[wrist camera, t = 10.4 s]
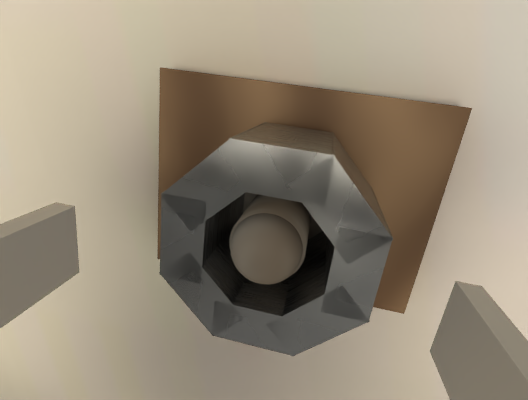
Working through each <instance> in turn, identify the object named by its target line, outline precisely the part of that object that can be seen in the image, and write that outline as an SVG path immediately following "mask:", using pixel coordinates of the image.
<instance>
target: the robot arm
mask: <svg viewBox="0 0 528 400" xmlns="http://www.w3.org/2000/svg"><path fill="white" fill-rule="evenodd" d="M77 273H79V260H78V246H77V231H76V216H75V206H71V205H66V204H61V203H54V204H51V205H48V206H46V207H43V208H41V209H38V210H36V211H33V212H31V213H28V214H25V215H23V216H20V217H18V218H15V219H13V220H10V221H7V222H5V223H2V224H0V328H2V327H3V326H4V325H6V324H7V323H9V322H10V321H11V320H13V319H14V318H16V317H17V316H18V315H20V314H21V313H23V312H24V311H25V310H27V309H28V308H30V307H31V306H32V305H34V304H35V303H37V302H38V301H39V300H41V299H42V298H44V297H45V296H47V295H48V294H49V293H51V292H52V291H54V290H55V289H56V288H58V287H59V286H61V285H62V284H63V283H65V282H66V281H68V280H69V279H70V278H72V277H73V276H75V275H76V274H77ZM430 352H431V355H432V357H433V360H434V362H435V364H436V367H437V369H438V372H439V374H440V376H441V379H442V381H443V384H444V386H445V388H446V391H447V393H448V396H449V398H450V400H528V341H527V339H526V338H525V337H524V336H523V335H522V333H521V332H520V331H519V330H518V329H517V328H516V326H515V325H514V324H513V323H512V322H511V320H510V319H509V318H508V317H507V316H506V314H505V313H504V312H503V311H502V310H501V308H500V307H499V306H498V305H497V304H496V302H495V301H494V300H493V299H492V298H491V296H490V295H489V294H488V293H487V292H486V290H485V289H484V288H483V287H482V286H479V285H473V284H468V283H463V282H458V281H456V282H455V284H454V287H453V290H452V292H451V295H450V298H449V301H448V303H447V306H446V309H445V311H444V314H443V317H442V319H441V322H440V325H439V328H438V330H437V333H436V336H435V338H434V341H433V344H432V347H431V349H430Z"/></svg>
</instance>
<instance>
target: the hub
mask: <svg viewBox="0 0 528 400" xmlns="http://www.w3.org/2000/svg"><path fill="white" fill-rule="evenodd" d="M245 192H248V193H253V194H258V195H264V196H269V197H275V198H280V199H285V200H291V201H296V202H302V203H303V205H304V206H305V207H306V209H307V210H308V211H309V213H310V214H311V215H312V217H313V218H314V220H315V221H316V222H317V224H318V225H319V226H320V228H321V229H322V230H323V231H321V232H320V233H318V234H316V235H315V236H313V237H311V238H310V239H308V241H307V247H306V253H305V258H304V261H303V263H302V265H301V266H300V268H299V269H298V270H297V271H296V272H295V273H294V274H292V275H291V276H289V277H288V278H287V279H285V280H283V281H281V282H278V283H275V284H268V285H267V284H258V283H255V282H252V281H250V280H248V279H247V278H245V277H244V276H243V275H242V274H241V273H240V272H239V271H238V270H237V268H236V267H235V265H234V263H233V260H232V257H231V251H230V245H229V239H230V234H231V231H232V229H233V227H234V225H235V224H236V223H237V221H238V220H239V218H240V217H241V216H242V214H243V207H244V198H245ZM392 240H393V236H392V234H391V231H390V229H389V227H388V224H387V222H386V220H385V217H384V215H383V213H382V210H381V208H380V206H379V203H378V201H377V198H376V196H375V194H374V191H373V189H372V187H371V186H370V185H369V183H368V182H367V181H366V179H365V178H364V176H363V175H362V173H361V172H360V171H359V169H358V168H357V166H356V165H355V163H354V162H353V161H352V159H351V158H350V156H349V155H348V153H347V152H346V151H345V149H344V148H343V146H342V145H341V143H340V142H339V140H338V139H337V138H336V136H335V135H334V133H333V132H327V131H320V130H313V129H307V128H300V127H293V126H287V125H280V124H274V123H267V122H264V123H262V124H260V125H257V126H255V127H253V128H251V129H248V130H246V131H244V132H242V133H240V134H237V135H235V136H233V137H231V138H229V140H228V141H226V142H225V143H224V144H223V145H222V146H220V147H219V148H218V149H217V150H215V151H214V152H213V153H212V154H210V155H209V156H208V157H207V158H205V159H204V160H203V161H202V162H200V163H199V164H198V165H197V166H195V167H194V168H193V169H192V170H190V171H189V172H188V173H187V174H186V175H184V176H183V177H182V178H181V179H179V180H178V181H177V182H176V183H174V184H173V185H172V186H171V187H169V188H168V189H167V190H165V191H164V192H162V193H161V241H160V272H159V273H160V275H162V277H163V278H164V279H165V280H166V281H167V282H168V284H169V285H170V286H171V287H172V288H173V289H174V291H175V292H176V293H177V294H178V295H179V297H180V298H181V299H182V300H183V301H184V302H185V304H186V305H187V306H188V307H189V308H190V309H191V311H192V312H193V313H194V314H195V315H196V316H197V318H198V319H199V320H200V321H201V322H202V323H203V325H204V326H205V327H206V328H207V329H208V331H209V332H210V333H211V334H212V335H213V336H217V337H221V338H225V339H229V340H233V341H237V342H241V343H244V344H248V345H252V346H256V347H260V348H264V349H268V350H272V351H276V352H280V353H284V354H288V355H292V356H295V355H296V354H299V353H301V352H303V351H305V350H307V349H310V348H312V347H314V346H316V345H318V344H321V343H323V342H325V341H327V340H329V339H332V338H334V337H336V336H338V335H340V334H343V333H345V332H347V331H349V330H351V329H354V328H356V327H358V326H360V325H362V324H365V323H368V322H369V318H370V315H371V311H372V308H373V304H374V301H375V298H376V294H377V291H378V287H379V284H380V280H381V277H382V273H383V270H384V267H385V263H386V260H387V256H388V253H389V249H390V246H391V242H392Z"/></svg>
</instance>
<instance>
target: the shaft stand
mask: <svg viewBox="0 0 528 400" xmlns="http://www.w3.org/2000/svg"><path fill="white" fill-rule="evenodd" d="M471 110H472V108H467V107H459V106H451V105H444V104H436V103H428V102H421V101H413V100H405V99H398V98H390V97H382V96H375V95H367V94H359V93H351V92H344V91H336V90H328V89H321V88H313V87H305V86H298V85H290V84H282V83H275V82H267V81H259V80H252V79H244V78H236V77H229V76H221V75H213V74H206V73H198V72H190V71H182V70H175V69H167V68H160V114H159V193H158V259H160V241H161V193H162V192H164V191H165V190H167V189H168V188H169V187H171V186H172V185H173V184H174V183H176V182H177V181H178V180H179V179H181V178H182V177H183V176H184V175H186V174H187V173H188V172H189V171H190V170H192V169H193V168H194V167H195V166H197V165H198V164H199V163H200V162H202V161H203V160H204V159H205V158H207V157H208V156H209V155H210V154H212V153H213V152H214V151H215V150H217V149H218V148H219V147H220V146H222V145H223V144H224V143H225V142H226V141H228V140H229V138H231V137H233V136H235V135H237V134H240V133H242V132H244V131H246V130H248V129H251V128H253V127H255V126H257V125H260V124H262V123H264V122H267V123H274V124H280V125H287V126H293V127H300V128H307V129H313V130H320V131H327V132H333V133H334V135H335V136H336V138H337V139H338V140H339V142H340V143H341V145H342V146H343V148H344V149H345V151H346V152H347V153H348V155H349V156H350V158H351V159H352V161H353V162H354V163H355V165H356V166H357V168H358V169H359V171H360V172H361V173H362V175H363V176H364V178H365V179H366V181H367V182H368V183H369V185H370V186H371V187H372V189H373V191H374V194H375V196H376V198H377V201H378V203H379V206H380V208H381V210H382V213H383V215H384V217H385V220H386V222H387V224H388V227H389V229H390V231H391V234H392V236H393V240H392V242H391V246H390V249H389V253H388V256H387V260H386V263H385V267H384V270H383V273H382V277H381V280H380V284H379V287H378V291H377V294H376V298H375V301H374V304H373V307H376V308H381V309H385V310H390V311H394V312H399V313H403V314H404V312H405V309H406V306H407V303H408V300H409V297H410V294H411V291H412V288H413V285H414V282H415V279H416V276H417V273H418V270H419V267H420V264H421V261H422V258H423V255H424V252H425V249H426V246H427V243H428V240H429V237H430V234H431V231H432V228H433V225H434V222H435V219H436V216H437V212H438V209H439V206H440V203H441V200H442V197H443V194H444V191H445V188H446V185H447V182H448V179H449V176H450V173H451V170H452V167H453V164H454V161H455V158H456V155H457V152H458V149H459V146H460V143H461V140H462V137H463V134H464V131H465V128H466V125H467V122H468V119H469V116H470V113H471ZM321 231H323V230H322V229H321V228H320V226H319V225H318V224H317V222H316V221H315V220H314V218H313V217H312V215H311V214H310V213H309V211H308V210H307V209H306V207H305V206H304V205H303V203H302V202H296V201H291V200H285V199H280V198H275V197H269V196H264V195H258V194H253V193H248V192H245V198H244V207H243V214H242V216H241V217H240V218H239V220H238V221H237V223H236V224H235V225H234V227H233V229H232V231H231V234H230V239H229V245H230V251H231V257H232V260H233V263H234V265H235V267H236V268H237V270H238V271H239V272H240V273H241V274H242V275H243V276H244V277H245V278H247V279H248V280H250V281H252V282H255V283H258V284H267V285H268V284H275V283H278V282H281V281H283V280H285V279H287V278H288V277H289V276H291V275H292V274H294V273H295V272H296V271H297V270H298V269H299V268H300V266H301V265H302V263H303V261H304V258H305V253H306V247H307V241H308V239H310V238H311V237H313V236H315V235H316V234H318V233H320V232H321Z"/></svg>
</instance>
